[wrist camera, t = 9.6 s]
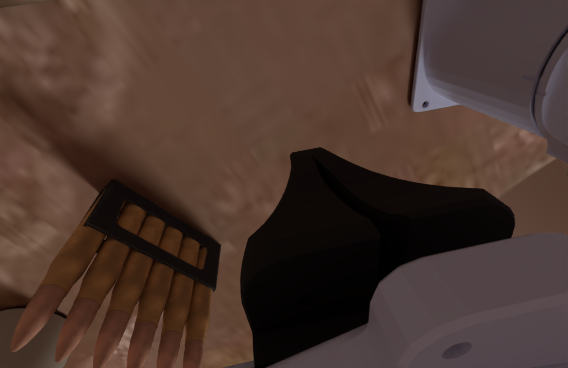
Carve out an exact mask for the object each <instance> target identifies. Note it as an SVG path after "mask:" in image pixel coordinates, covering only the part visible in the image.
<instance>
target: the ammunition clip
mask: <svg viewBox="0 0 568 368" xmlns="http://www.w3.org/2000/svg"><path fill="white" fill-rule="evenodd" d="M117 217H118V218H117ZM106 235H107V238H106V239H105V240H104V238H105V237H106ZM130 249H131V250H130ZM220 249H221V245H220V244H218V243H217V242H215V241H213V240H212V239H210V238H209V237H207V236H205V235H204V234H202V233H201V232H199V231H197V230H196V229H194V228H193V227H191V226H189V225H188V224H186V223H184V222H183V221H181V220H180V219H178V218H176V217H175V216H173V215H172V214H170V213H168V212H167V211H165V210H163V209H162V208H160V207H159V206H157V205H155V204H154V203H152V202H151V201H149V200H147V199H146V198H144V197H143V196H141V195H139V194H138V193H136V192H134V191H133V190H131V189H130V188H128V187H126V186H125V185H123V184H122V183H120V182H118V181H117V180H111V181H110V182H109V183H108V185H107V186H106V187H105V188H104V189H103V190H102V191H101V192H100V193H99V195H98V196H97V198H96V199H95V201H94V202H93V204H92V206H91V207H90V209H89V210H88V212H87V213H86V215H85V217H84V218H83V220H82V221H81V223H80V224H79V226H78V227H77V229H76V230H75V231H74V233H73V234H72V236H71V237H70V238H69V240H68V241H67V242H66V244H65V245H64V246H63V248H62V249H61V251H60V252H59V253H58V255H57V256H56V257H55V259H54V260H53V262H52V264H51V265H50V268H49V270H48V272H47V275H46V277H45V278H44V280H43V281H42V283H41V284H40V286H39V287H38V289H37V291H36V293H35V294H34V296H33V297H32V299H31V300H30V302H29V303H28V305H27V307H26V309H25V310H24V312H23V314H22V316H21V318H20V320H19V322H18V324H17V326H16V329H15V332H14V334H13V337H12V341H11V351H12V352H16V351H18V350H19V349H21V348H22V347H23V346H24V345H26V344H27V343H28V342H29V341H30V340H31V339H32V338H33V337H34V336H35V335H36V334H37V333H38V332H39V331H40V330H41V329H42V328H43V327H44V325H45V324H46V323H47V322H48V320H49V319H50V318H51V316H52V315H53V314H54V312H55V311H56V310H57V308H58V307H59V305H60V303H61V302H62V300H63V299H64V297H66V295H67V294H68V292H69V291H70V289H71V288H72V286H73V285H74V284H75V283H76V282H77V281H78V279H79V278H80V277H81V276H82V275H83V273H84V272H85V270H86V269H87V267H88V265H89V264H90V262H91V260H92V259H93V257H94V255H95V254H96V253H97V255H96V257H95V259H94V260H93V262H92V264H91V266H90V267H89V269H88V271H87V273H86V274H85V276H84V278H83V281H82V284H81V288H80V291H79V293H78V295H77V297H76V299H75V301H74V304H73V306H72V308H71V310H70V312H69V314H68V315H67V317H66V320H65V322H64V324H63V327H62V329H61V332H60V335H59V338H58V342H57V346H56V350H55V362H56V363H60V362H62V361H63V360H64V359H65V358H66V357H67V356H68V355H69V354H70V353H71V352H72V351H73V349H74V348H75V347H76V346H77V344H78V343H79V342H80V340H81V339H82V337H83V336H84V334H85V333H86V331H87V330H88V328H89V326H90V325H91V323H92V321H93V319H94V317H95V315H96V313H97V311H98V309H99V308H100V306H101V304H102V303H103V301H104V299H105V297H106V295H107V294H108V293H109V291H110V290H111V288H112V287H113V285H114V284H115V282H116V280H117V282H116V284H115V286H114V288H113V291H112V296H111V301H110V305H109V307H108V310H107V313H106V317H105V319H104V322H103V324H102V326H101V329H100V332H99V335H98V339H97V342H96V347H95V352H94V359H93V368H103V367H104V366H105V365H106V363H107V362H108V361H109V359H110V358H111V356H112V355H113V353H114V351H115V350H116V348H117V346H118V344H119V342H120V340H121V338H122V336H123V334H124V331H125V329H126V326H127V323H128V321H129V319H130V317H131V315H132V312H133V310H134V307H135V305H136V304H137V302H138V300H139V299H140V300H139V306H138V314H137V318H136V322H135V326H134V331H133V334H132V337H131V341H130V346H129V351H128V358H127V368H142V366H143V364H144V362H145V360H146V358H147V355H148V353H149V350H150V348H151V345H152V342H153V339H154V335H155V331H156V329H157V326H158V323H159V320H160V316H161V314H162V312H163V310H164V313H163V328H162V333H161V340H160V345H159V350H158V358H157V368H174V365H175V362H176V359H177V355H178V351H179V347H180V342H181V338H182V334H183V329H184V325H185V327H186V338H185V351H184V358H183V368H201V364H202V359H203V351H204V345H205V339H206V332H207V329H208V326H209V321H210V311H211V300H212V291H213V292H214V291H215V290H216V284H217V275H218V266H219V257H220ZM129 251H130V252H129ZM123 265H124V266H123ZM122 267H123V268H122ZM121 269H122V270H121ZM120 271H121V272H120ZM119 273H120V275H119ZM118 275H119V277H118ZM117 278H118V279H117ZM212 289H213V290H212Z"/></svg>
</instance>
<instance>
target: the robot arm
mask: <svg viewBox="0 0 568 368" xmlns="http://www.w3.org/2000/svg"><path fill="white" fill-rule="evenodd" d="M425 101H426V104H425V105H424V106H423V107H422V104H423V103H424V102H425ZM459 104H461V105H463V106H466V107H468V108H471V109H473V110H476V111H478V112H481V113H483V114H486V115H488V116H491V117H494V118H496V119H499V120H501V121H504V122H506V123H509V124H511V125H514V126H516V127H519V128H521V129H524V130H526V131H529V132H531V133H534V134H536V135H539V136H541V137H544V138H546V139H547V142H548V148H547V154H549V155H551V156H553V157H555V158H558V159H560V160H562V161H564V162H567V163H568V0H423V5H422V13H421V22H420V30H419V39H418V47H417V55H416V64H415V72H414V80H413V89H412V97H411V105H410V106H411V109H412V110H413V111H415V112H421V111H427V110H432V109H438V108H443V107H448V106H454V105H459ZM290 160H291V171H290V177H289V180H288V183H287V186H286V189H285V192H284V194H283V196H282V198H281V200H280V202H279V204H278V205H277V207H276V209H275V210H274V212H273V213H272V214H271V216H270V217H269V218H268V219H267V221H266V222H265V223H264V224H263V225H262V226H261V227H260V228H259V229H258V230H257V231H256V232H255V233H254V234H252V235H251V236H250V237H249V238H248V241H247V245H246V248H245V252H244V257H243V261H242V268H241V277H240V286H241V300H242V305H243V308H244V311H245V313H246V316H247V319H248V322H249V325H250V327H251V330H252V334H253V353H254V361H250V362H246V363H241V364H237V365H232V366H228V367H224V368H568V236H566V235H565V234H563V233H532V234H528V235H523V236H518V237H513V238H511V237H512V234H513V230H514V227H515V218H514V214H513V212H512V210H511V209H510V207H508V206H507V205H505V204H504V203H503V202H501V201H500V200H498V199H497V198H496V197H494V196H493V195H491V194H490V193H489V192H487V191H486V190H484V189H477V188H460V187H445V186H437V185H429V184H422V183H416V182H411V181H406V180H401V179H397V178H393V177H389V176H386V175H382V174H379V173H376V172H373V171H370V170H367V169H365V168H363V167H360V166H358V165H355V164H353V163H351V162H349V161H347V160H345V159H343V158H341V157H339V156H337V155H335V154H333V153H331V152H329V151H327V150H325V149H323V148H321V147H319V148H314V149H308V150H303V151H298V152H292V153H291V155H290ZM567 175H568V174H567Z"/></svg>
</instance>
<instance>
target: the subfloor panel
mask: <svg viewBox="0 0 568 368" xmlns="http://www.w3.org/2000/svg"><path fill="white" fill-rule="evenodd" d="M43 1H50V0H0V8H2V7H9V6H16V5H23V4H29V3H36V2H43Z"/></svg>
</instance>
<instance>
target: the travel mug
mask: <svg viewBox="0 0 568 368" xmlns="http://www.w3.org/2000/svg"><path fill="white" fill-rule="evenodd" d="M25 309H26V308H18V309H8V310H3V311H0V368H63V367H64V365H65V363H66V361H67V359H68V357H69V355H70V354H69V355H68V356H67V357H66V358H65V359H64V360H63V361H62V362H60V363H56V362H55V350H56V346H57V342H58V338H59V335H60V332H61V329H62V327H63V324H64V322H65V320H66V319H65V318H63V317H61V316H59V315H56V314H53V315H52V316H51V318H50V319H49V320H48V322H47V323H46V324H45V325H44V327H43V328H42V329H41V330H40V331H39V332H38V333H37V334H36V335H35V336H34V337H33V338H32V339H31V340H30V341H29V342H28V343H27V344H26V345H24V346H23V347H22V348H21V349H19V350H18V351H16V352H12V351H11V341H12V337H13V334H14V332H15V329H16V326H17V324H18V322H19V320H20V318H21V316H22V314H23V312H24V310H25Z"/></svg>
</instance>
